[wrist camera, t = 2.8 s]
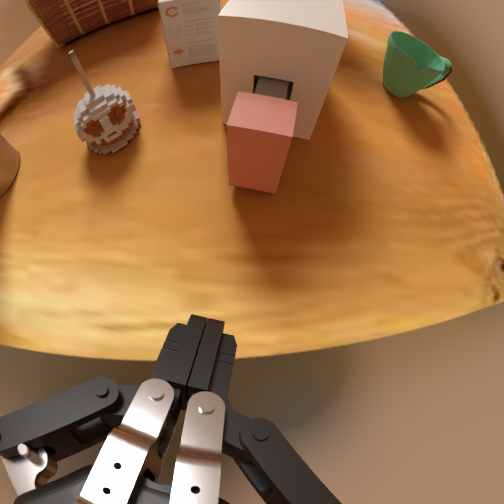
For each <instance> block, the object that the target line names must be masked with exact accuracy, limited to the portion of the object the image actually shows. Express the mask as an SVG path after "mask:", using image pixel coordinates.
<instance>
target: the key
mask: <svg viewBox="0 0 504 504" xmlns="http://www.w3.org/2000/svg"><path fill="white" fill-rule="evenodd" d="M288 83H289V81H286V80H281V79H275V78H270V77H264V76H260V77H259V80H258V83H257V86H256V90H255V93H254V94H253V93H247V92H240V91H238V93H237V96H236V99H235V102H234V104H233V107H232V110H231V113H230V116H229V119H228V122H227V125H226V126H227V150H228V172H229V185H233V186H238V187H244V188H249V189H254V190H259V191H264V192H269V193H274V194H276V191H277V188H278V184H279V181H280V178H281V174H282V171H283V168H284V164H285V161H286V158H287V154H288V151H289V148H290V144H291V141H292V137H293V131H294V125H295V118H296V112H297V105H298V102H295V101H291V100H286V94H287V89H288Z"/></svg>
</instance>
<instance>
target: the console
mask: <svg viewBox="0 0 504 504" xmlns="http://www.w3.org/2000/svg"><path fill="white" fill-rule="evenodd" d="M218 39H219V65H220V87H221V107H222V124H227V122H228V119H229V116H230V113H231V110H232V107H233V104H234V102H235V99H236V96H237V93H238V91H240V92H247V93H253V94H254V93H255V90H256V86H257V83H258V80H259V77H260V76H264V77H270V78H275V79H281V80H286V81H289V83H288V89H287V94H286V100H291V101H295V102H298V105H297V112H296V118H295V125H294V131H293V137H297V138H302V139H306V140H310V137H311V134H312V132H313V129H314V127H315V124H316V122H317V119H318V116H319V114H320V111H321V109H322V106H323V103H324V101H325V98H326V95H327V93H328V90H329V88H330V85H331V82H332V80H333V77H334V74H335V72H336V69H337V66H338V64H339V61H340V58H341V56H342V53H343V50H344V48H345V45H346V42H347V39H348V34H347V27H346V20H345V13H344V7H343V1H342V0H229V2H228V3H227V4H226V5H225V7H224V8H223V9H222V11H221V12H220V13H219V14H218Z"/></svg>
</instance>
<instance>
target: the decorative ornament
mask: <svg viewBox="0 0 504 504" xmlns="http://www.w3.org/2000/svg"><path fill="white" fill-rule="evenodd" d="M68 53H69V56H70V58H71V60H72V62H73V64H74V66H75V68H76V69H77V71H78V73H79V75H80V77H81V79H82V81H83V83H84V85H85V86H86V88H87V90H88V92H87V93H85V94H84V98H83V99H82V100H80V101H78V106H77V107H76V113H74V118H75V121H73V122H74V126H75V130H76V132H77V134H78V136H79V138H80V139H81V141H82V142H83V141H85V140H86V142H87V145H88V148H89V150H92V149H93V151H94V152H95V154H96V153H97V152H99V154H101V153H104V155H105V154H107V153H108V152H110V151H112V152H113V153H114V152H115V151H117V150H119V149H120V148H122V147H124V146H126V145H127V144H128V143H127V141H128V140H130V139H132V138H133V137H134V135H133V134H135V133H136V132H137V131H136V129H138V128H139V126H138V124H137V122H139V121H141V120H140V118H139V116H138V114H137V112H136V111H135V110H136V108H135V106H134V103H133V101H132V99H131V97H130V95H129V93H128V91H127V90H125V91H122V89H121V87H120V86H119V87H118V88H116V86H115V85H112V86H110V84H107V85H105V86H103V87H102V88H101V86H100V85H99V86H97V87H95V88H92V86H91V84H90V82H89V81H88V79H87V77H86V75H85V73H84V71H83V69H82V67H81V65H80V63H79V61H78V59H77V57H76V55H75V52H74V50H71V51H70V52H68Z"/></svg>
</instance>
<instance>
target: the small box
mask: <svg viewBox="0 0 504 504" xmlns="http://www.w3.org/2000/svg"><path fill="white" fill-rule="evenodd" d="M158 7H159V11H160V16H161V21H162V26H163V31H164V36H165V41H166V46H167V50H168V55H169V60H170V64H171V67H172V68H176V67H181V66H186V65H192V64H198V63H204V62H211V61H219V39H218V14H219V13H220V0H158Z"/></svg>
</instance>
